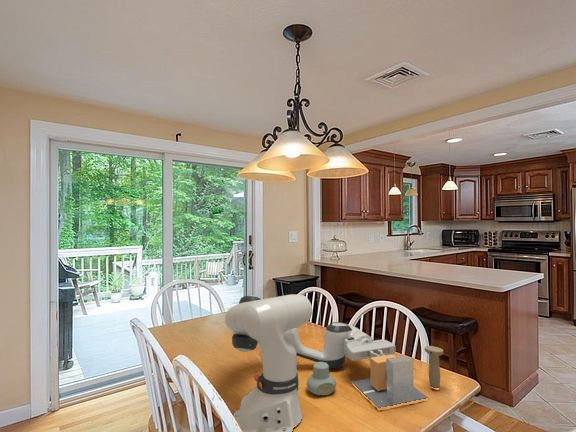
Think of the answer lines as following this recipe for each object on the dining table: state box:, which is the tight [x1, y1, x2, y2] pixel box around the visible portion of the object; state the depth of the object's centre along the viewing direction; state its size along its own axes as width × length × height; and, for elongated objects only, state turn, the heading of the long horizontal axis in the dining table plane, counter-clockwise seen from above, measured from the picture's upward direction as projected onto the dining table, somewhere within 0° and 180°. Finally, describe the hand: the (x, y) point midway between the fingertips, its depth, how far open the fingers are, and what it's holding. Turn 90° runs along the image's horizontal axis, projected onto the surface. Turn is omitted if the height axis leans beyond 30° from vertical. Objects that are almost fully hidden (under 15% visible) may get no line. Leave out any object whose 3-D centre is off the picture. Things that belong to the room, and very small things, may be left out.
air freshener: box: [306, 362, 337, 396], centre depth 123 cm, size 11×8×10 cm
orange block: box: [369, 354, 398, 391], centre depth 123 cm, size 10×5×10 cm, turn 107°
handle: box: [424, 345, 444, 388], centre depth 123 cm, size 5×6×15 cm
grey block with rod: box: [386, 355, 415, 405], centre depth 120 cm, size 8×16×14 cm, turn 17°
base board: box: [350, 378, 429, 408], centre depth 121 cm, size 20×19×1 cm
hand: (381, 358), depth 125 cm, fingers closed
